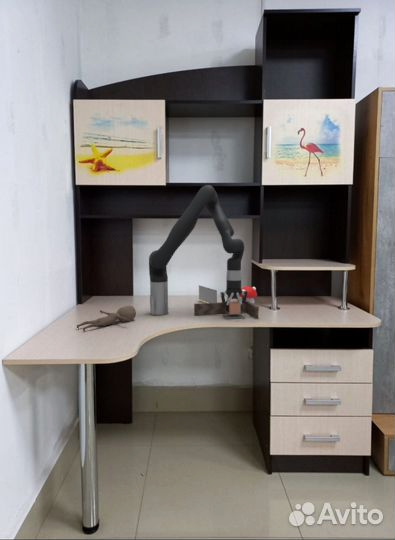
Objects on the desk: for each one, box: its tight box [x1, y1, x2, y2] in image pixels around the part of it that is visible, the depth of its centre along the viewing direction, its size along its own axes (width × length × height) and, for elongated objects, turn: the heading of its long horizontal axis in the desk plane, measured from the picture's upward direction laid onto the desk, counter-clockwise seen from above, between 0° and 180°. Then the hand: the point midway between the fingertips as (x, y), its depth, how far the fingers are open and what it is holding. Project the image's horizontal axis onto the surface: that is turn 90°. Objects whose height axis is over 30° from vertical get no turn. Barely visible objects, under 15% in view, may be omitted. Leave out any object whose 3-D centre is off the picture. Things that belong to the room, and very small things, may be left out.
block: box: [227, 300, 242, 315], centre depth 214 cm, size 6×6×6 cm
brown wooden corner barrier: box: [193, 301, 260, 320], centre depth 214 cm, size 30×15×6 cm, turn 102°
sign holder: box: [197, 284, 218, 303], centre depth 244 cm, size 21×2×10 cm, turn 29°
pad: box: [222, 313, 246, 320], centre depth 214 cm, size 9×9×1 cm
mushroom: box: [240, 285, 258, 304], centre depth 236 cm, size 11×11×12 cm
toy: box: [76, 305, 137, 332], centre depth 200 cm, size 26×8×30 cm
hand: (233, 311), depth 214 cm, fingers closed on block, 5 cm apart
